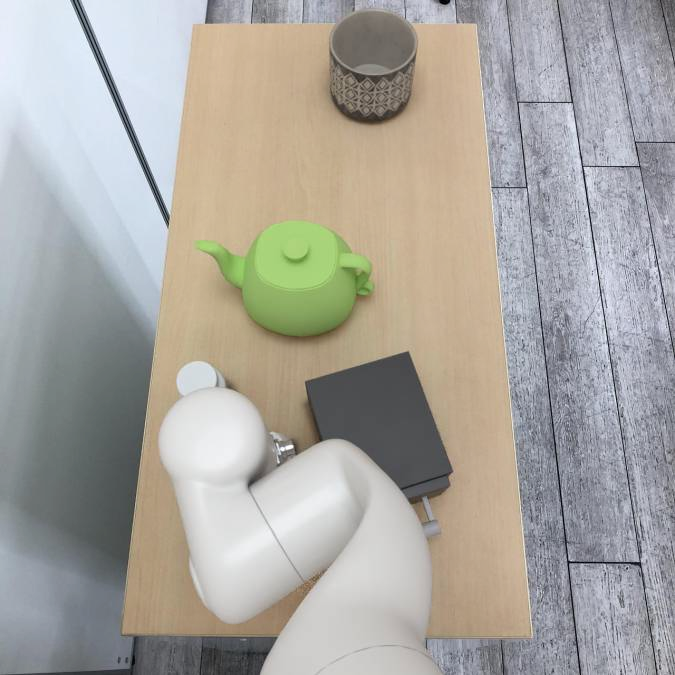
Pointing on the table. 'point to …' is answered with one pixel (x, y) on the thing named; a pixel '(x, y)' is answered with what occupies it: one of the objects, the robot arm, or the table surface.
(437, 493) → the drawer with pull handle
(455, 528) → the table surface
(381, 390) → the drawer cabinet casing
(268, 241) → the teapot
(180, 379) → the pill bottle
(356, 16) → the planter
